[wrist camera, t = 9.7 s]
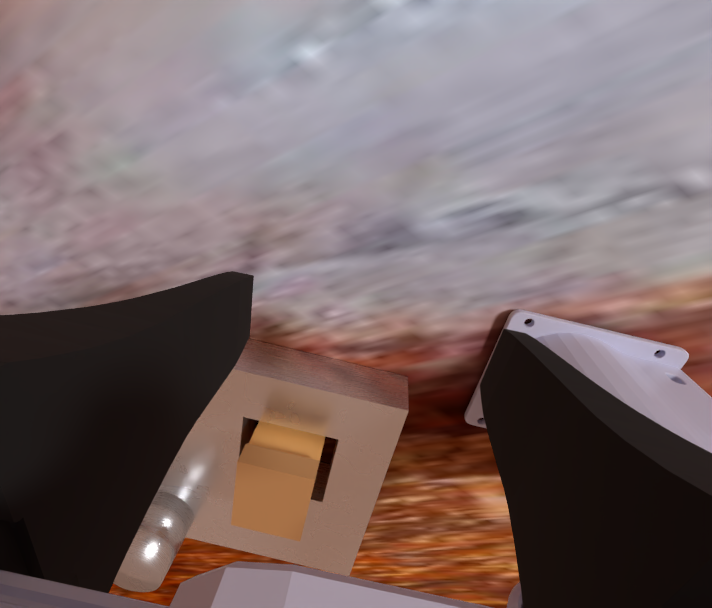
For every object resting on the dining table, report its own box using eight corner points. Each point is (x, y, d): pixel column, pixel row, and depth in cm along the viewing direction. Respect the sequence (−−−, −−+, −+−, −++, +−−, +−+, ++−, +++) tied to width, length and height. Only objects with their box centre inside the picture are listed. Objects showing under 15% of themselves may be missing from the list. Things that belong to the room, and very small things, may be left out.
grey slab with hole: (407, 376, 23) (410, 473, 17) (353, 535, 30) (341, 645, 24) (148, 314, 23) (54, 389, 17) (156, 488, 30) (92, 585, 24)
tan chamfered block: (334, 400, 24) (315, 480, 19) (320, 456, 27) (300, 541, 21) (273, 385, 24) (237, 461, 19) (264, 443, 27) (230, 524, 21)
